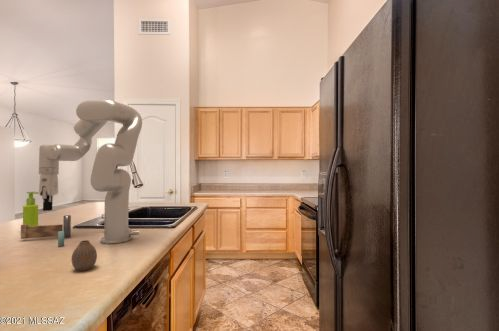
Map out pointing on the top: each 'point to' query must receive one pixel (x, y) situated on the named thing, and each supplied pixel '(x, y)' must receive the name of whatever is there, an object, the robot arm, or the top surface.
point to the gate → (40, 231)
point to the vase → (84, 256)
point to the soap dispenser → (30, 211)
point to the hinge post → (67, 226)
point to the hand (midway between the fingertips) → (47, 210)
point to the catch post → (60, 238)
